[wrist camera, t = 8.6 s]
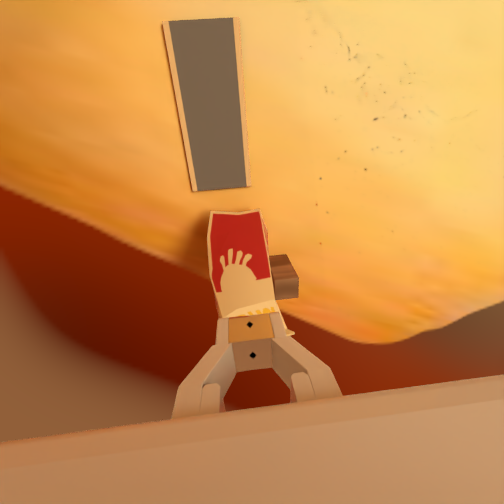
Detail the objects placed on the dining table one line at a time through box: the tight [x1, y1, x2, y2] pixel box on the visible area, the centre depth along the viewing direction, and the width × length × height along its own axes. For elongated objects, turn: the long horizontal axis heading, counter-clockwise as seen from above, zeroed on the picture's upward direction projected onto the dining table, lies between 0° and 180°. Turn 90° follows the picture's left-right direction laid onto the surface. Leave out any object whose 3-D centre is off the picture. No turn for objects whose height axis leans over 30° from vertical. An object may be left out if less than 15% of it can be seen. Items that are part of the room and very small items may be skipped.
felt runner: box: [162, 17, 251, 191], centre depth 30 cm, size 19×9×1 cm, turn 4°
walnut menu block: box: [269, 254, 299, 300], centre depth 36 cm, size 4×4×8 cm
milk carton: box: [207, 209, 295, 336], centre depth 28 cm, size 9×9×20 cm
